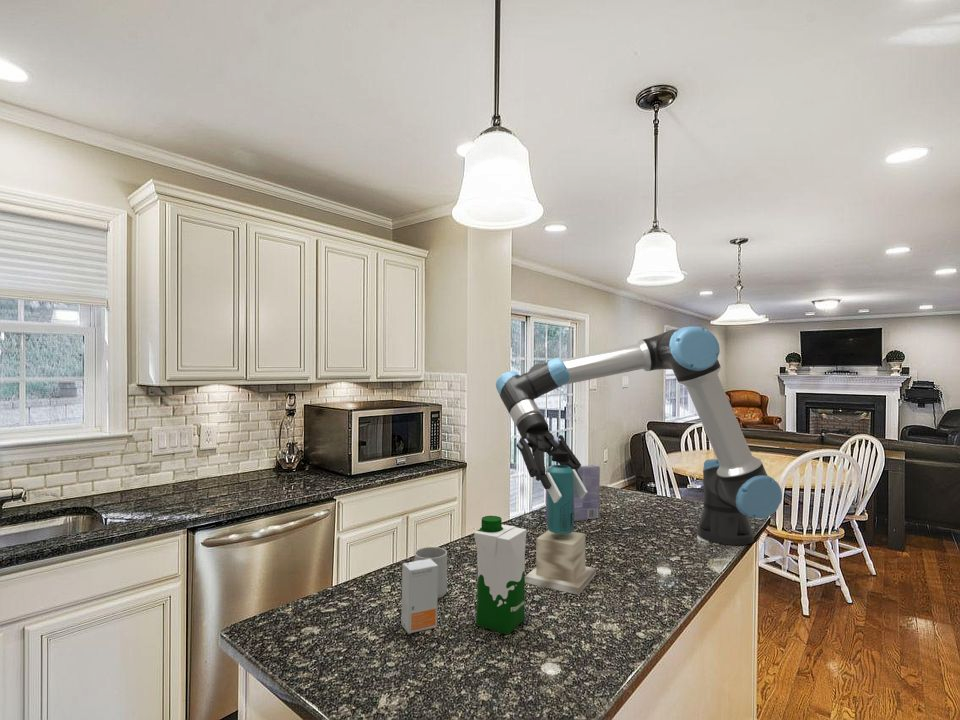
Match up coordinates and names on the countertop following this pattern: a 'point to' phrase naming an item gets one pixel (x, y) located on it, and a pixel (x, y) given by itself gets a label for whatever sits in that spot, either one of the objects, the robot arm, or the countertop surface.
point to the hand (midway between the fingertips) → (571, 497)
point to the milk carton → (500, 575)
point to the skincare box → (419, 595)
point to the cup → (440, 559)
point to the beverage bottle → (563, 510)
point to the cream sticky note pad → (561, 563)
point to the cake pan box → (590, 502)
